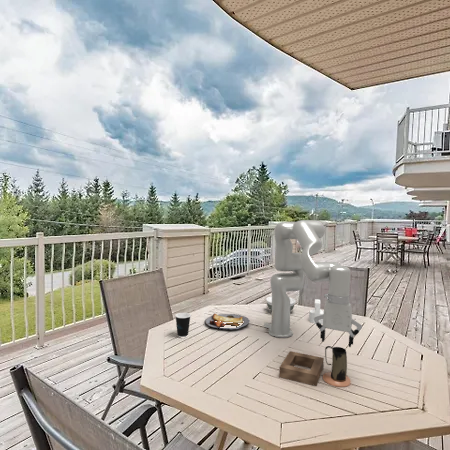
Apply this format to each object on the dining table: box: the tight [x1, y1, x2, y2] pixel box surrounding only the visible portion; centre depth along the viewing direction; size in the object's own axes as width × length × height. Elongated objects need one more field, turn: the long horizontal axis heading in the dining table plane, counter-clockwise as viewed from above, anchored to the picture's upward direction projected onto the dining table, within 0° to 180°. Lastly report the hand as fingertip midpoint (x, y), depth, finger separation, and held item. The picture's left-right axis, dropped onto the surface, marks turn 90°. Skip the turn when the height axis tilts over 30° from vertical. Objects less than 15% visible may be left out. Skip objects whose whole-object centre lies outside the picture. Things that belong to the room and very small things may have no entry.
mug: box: [324, 345, 348, 382], centre depth 121 cm, size 8×6×12 cm
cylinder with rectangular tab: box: [308, 298, 324, 325], centre depth 186 cm, size 9×9×12 cm
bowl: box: [265, 295, 296, 312], centre depth 203 cm, size 19×19×8 cm
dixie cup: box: [174, 312, 192, 338], centre depth 162 cm, size 8×8×11 cm
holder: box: [278, 350, 325, 387], centre depth 127 cm, size 14×16×4 cm
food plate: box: [204, 313, 251, 330], centre depth 181 cm, size 25×23×4 cm
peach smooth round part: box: [322, 371, 351, 388], centre depth 121 cm, size 10×10×1 cm
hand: (336, 343), depth 121 cm, fingers open, 9 cm apart
